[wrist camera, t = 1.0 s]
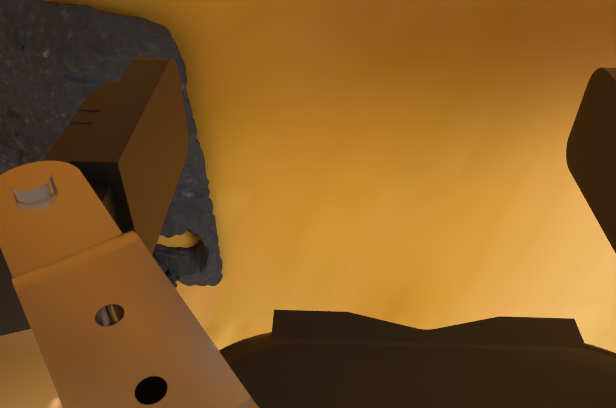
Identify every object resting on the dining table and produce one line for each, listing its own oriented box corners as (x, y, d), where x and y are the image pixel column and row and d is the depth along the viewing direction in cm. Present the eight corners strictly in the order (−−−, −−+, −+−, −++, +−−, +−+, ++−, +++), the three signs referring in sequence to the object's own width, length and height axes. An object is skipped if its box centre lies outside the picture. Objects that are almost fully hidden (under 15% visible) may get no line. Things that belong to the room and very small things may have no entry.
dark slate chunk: (226, 7, 29) (212, 44, 26) (224, 288, 43) (215, 339, 40) (-74, -26, 29) (-133, 8, 25) (22, 271, 43) (-6, 321, 39)
